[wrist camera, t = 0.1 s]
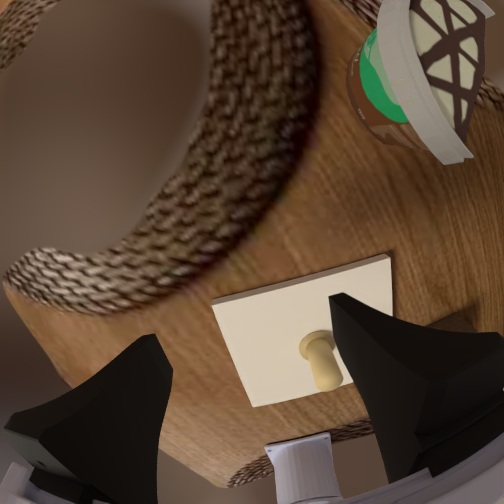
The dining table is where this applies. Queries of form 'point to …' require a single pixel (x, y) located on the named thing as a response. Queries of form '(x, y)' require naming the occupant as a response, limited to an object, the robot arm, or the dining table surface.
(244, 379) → the shaft board
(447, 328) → the collar
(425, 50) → the food container
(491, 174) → the dining table surface
